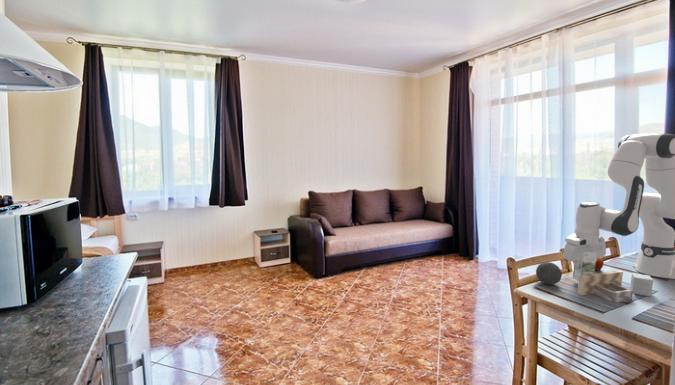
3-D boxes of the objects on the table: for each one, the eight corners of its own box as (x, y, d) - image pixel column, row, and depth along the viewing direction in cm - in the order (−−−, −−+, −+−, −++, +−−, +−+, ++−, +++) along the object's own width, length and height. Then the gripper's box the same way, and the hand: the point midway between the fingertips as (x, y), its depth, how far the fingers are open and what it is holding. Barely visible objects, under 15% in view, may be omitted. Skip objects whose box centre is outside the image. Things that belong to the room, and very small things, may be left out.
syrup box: (585, 278, 158) (588, 247, 156) (594, 283, 152) (596, 251, 150) (572, 277, 159) (575, 247, 157) (580, 283, 153) (582, 251, 151)
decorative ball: (533, 278, 163) (534, 258, 162) (557, 280, 160) (559, 260, 158) (537, 286, 154) (539, 265, 152) (563, 289, 150) (565, 267, 149)
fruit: (591, 270, 169) (587, 254, 172) (583, 273, 176) (579, 257, 179) (609, 271, 167) (605, 255, 171) (600, 274, 175) (596, 258, 178)
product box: (648, 291, 147) (650, 275, 146) (651, 297, 142) (653, 280, 141) (629, 288, 151) (631, 272, 150) (632, 293, 146) (634, 277, 145)
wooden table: (616, 287, 152) (618, 270, 151) (642, 297, 142) (645, 279, 140) (577, 293, 146) (578, 275, 145) (602, 304, 136) (604, 285, 135)
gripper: (597, 234, 158) (595, 263, 160) (562, 238, 153) (560, 268, 155) (611, 237, 152) (608, 267, 154) (575, 242, 147) (573, 273, 149)
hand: (584, 268), depth 155 cm, fingers closed on syrup box, 7 cm apart
